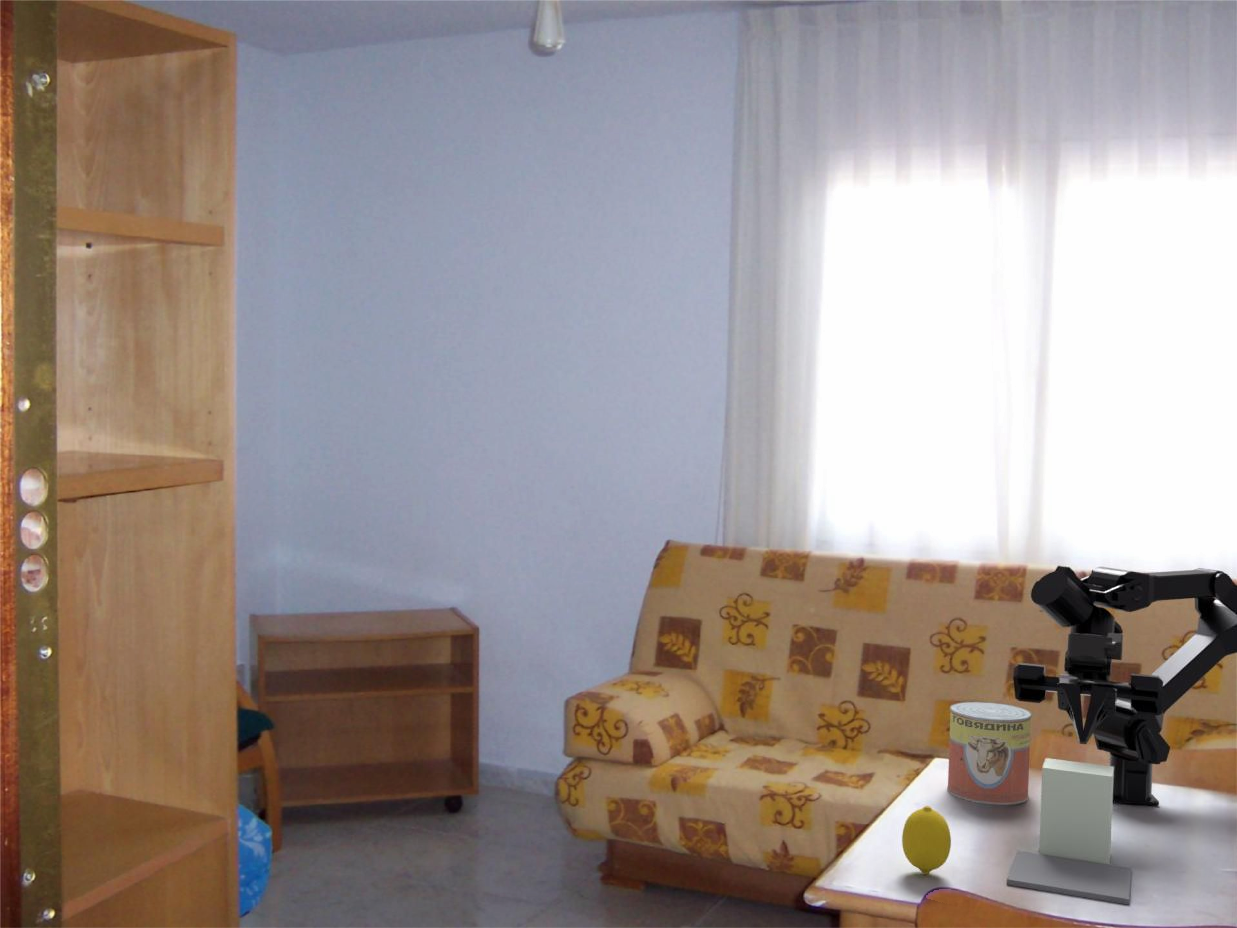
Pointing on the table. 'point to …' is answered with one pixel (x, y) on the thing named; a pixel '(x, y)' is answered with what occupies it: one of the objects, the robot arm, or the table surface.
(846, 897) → the table surface
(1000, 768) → the canned food
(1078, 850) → the sage block
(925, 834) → the lemon
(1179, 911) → the table surface
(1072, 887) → the mat
